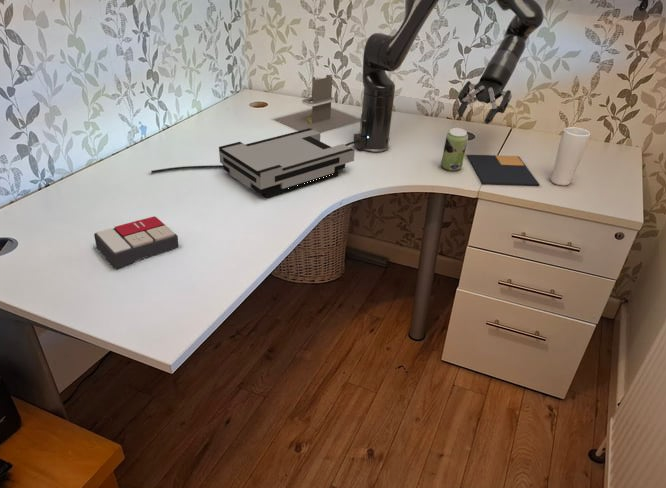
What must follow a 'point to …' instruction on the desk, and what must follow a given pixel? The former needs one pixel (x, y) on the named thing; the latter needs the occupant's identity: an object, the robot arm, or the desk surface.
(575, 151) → the drinking glass
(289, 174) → the game console
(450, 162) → the beverage can
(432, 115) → the desk surface
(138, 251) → the button panel
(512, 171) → the desk mat
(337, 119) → the architectural model
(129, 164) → the desk surface
